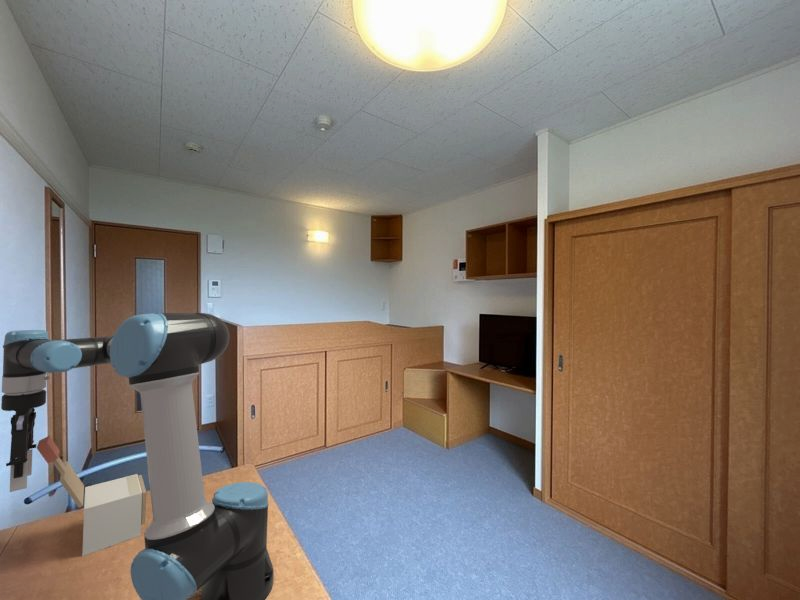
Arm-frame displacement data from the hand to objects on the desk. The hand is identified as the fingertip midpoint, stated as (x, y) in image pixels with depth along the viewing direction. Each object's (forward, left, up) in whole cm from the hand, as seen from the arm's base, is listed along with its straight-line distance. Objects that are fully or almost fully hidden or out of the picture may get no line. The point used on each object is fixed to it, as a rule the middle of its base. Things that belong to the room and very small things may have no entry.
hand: (21, 482), depth 85 cm
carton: (0, -18, -20) cm, 27 cm away
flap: (0, -8, +1) cm, 8 cm away
